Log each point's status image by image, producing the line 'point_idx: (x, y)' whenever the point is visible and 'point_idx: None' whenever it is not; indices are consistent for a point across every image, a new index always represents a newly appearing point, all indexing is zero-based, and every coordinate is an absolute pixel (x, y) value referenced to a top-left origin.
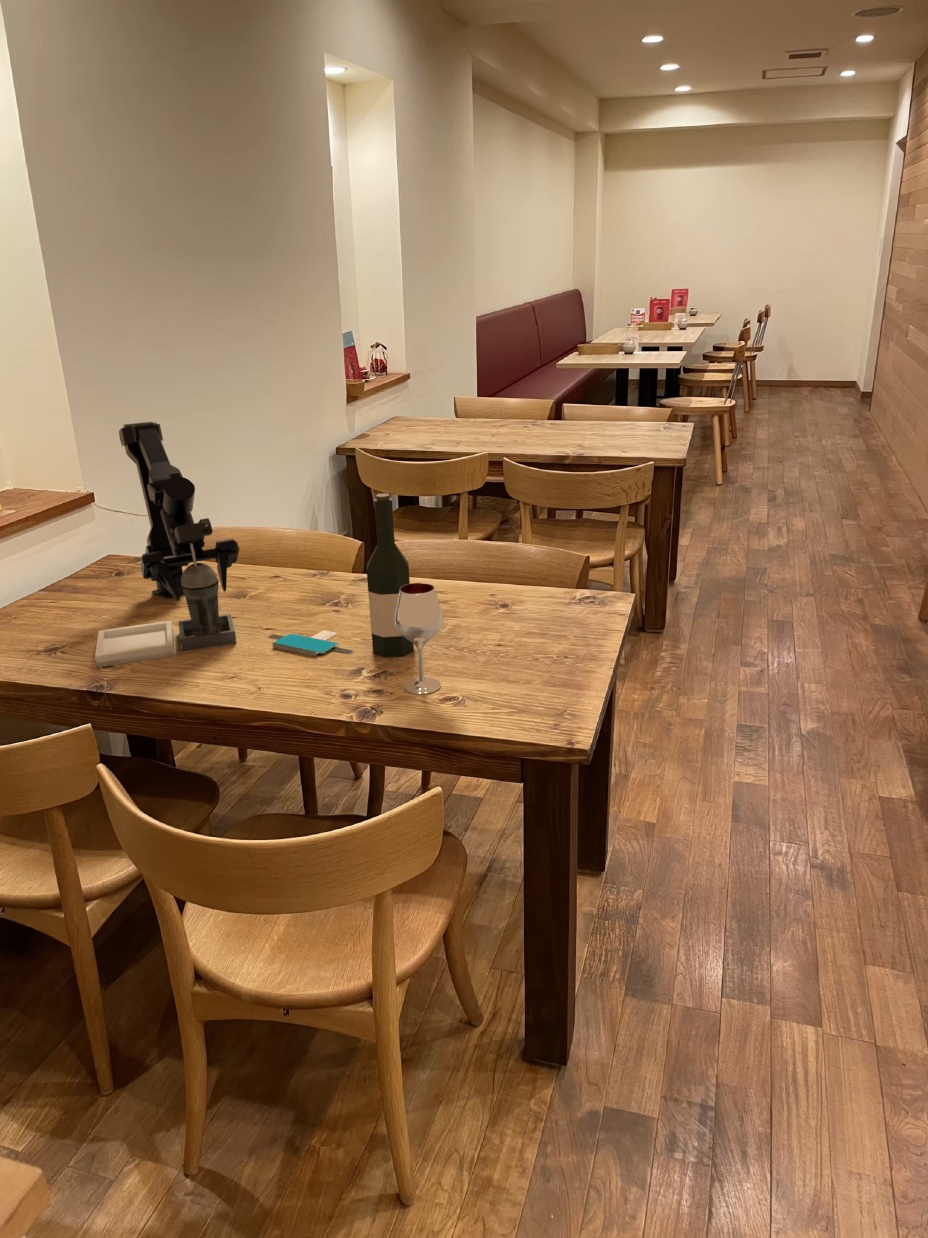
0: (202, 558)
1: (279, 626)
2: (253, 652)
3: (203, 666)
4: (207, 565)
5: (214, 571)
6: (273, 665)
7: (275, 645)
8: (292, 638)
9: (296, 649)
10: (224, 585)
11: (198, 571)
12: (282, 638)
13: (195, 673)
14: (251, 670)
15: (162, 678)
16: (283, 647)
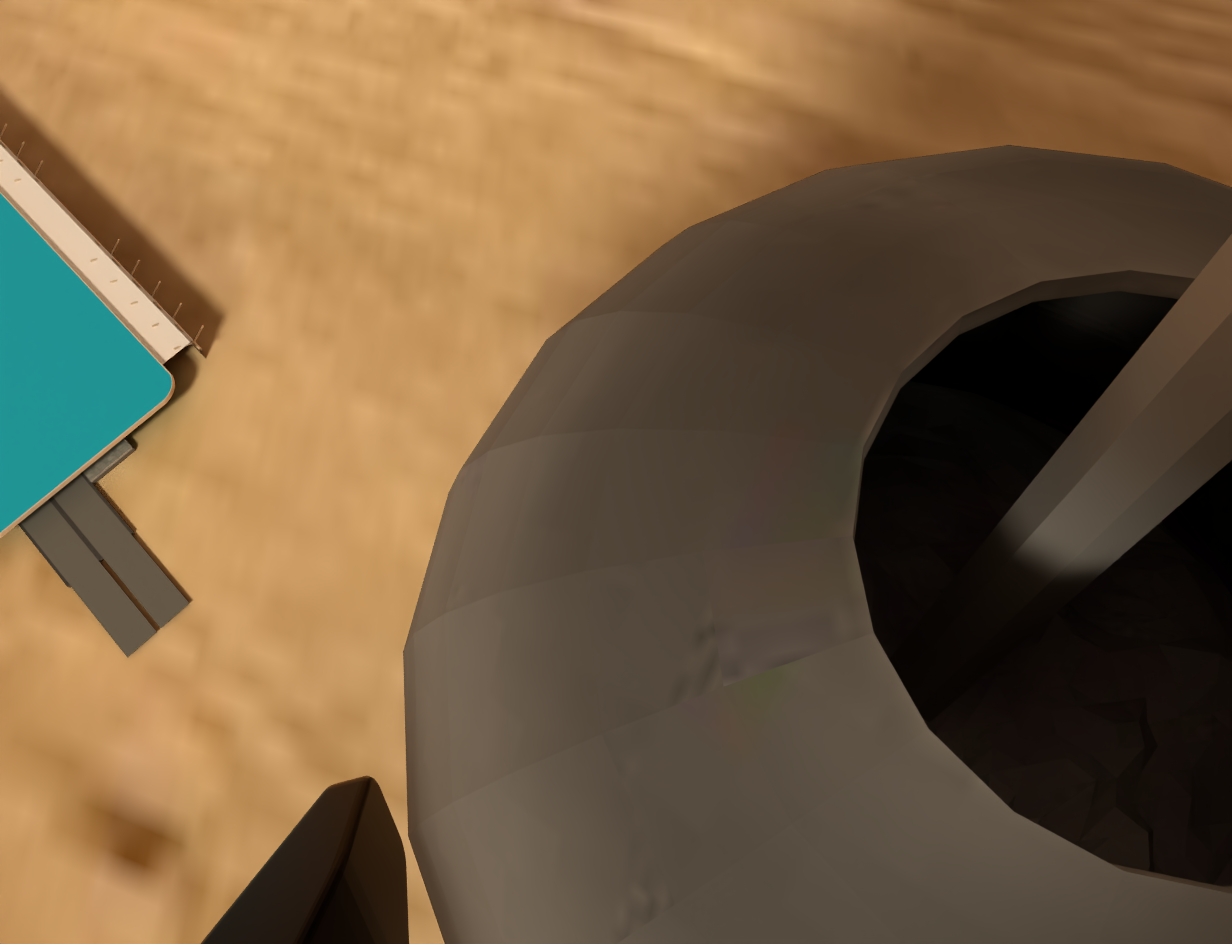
0: None
1: (8, 877)
2: (372, 308)
3: (765, 165)
4: (615, 630)
5: (416, 778)
6: (277, 64)
7: (177, 325)
8: (3, 422)
9: (51, 196)
10: (332, 821)
11: (962, 152)
12: (80, 449)
13: (814, 73)
14: (430, 30)
15: (1047, 54)
16: (129, 277)
